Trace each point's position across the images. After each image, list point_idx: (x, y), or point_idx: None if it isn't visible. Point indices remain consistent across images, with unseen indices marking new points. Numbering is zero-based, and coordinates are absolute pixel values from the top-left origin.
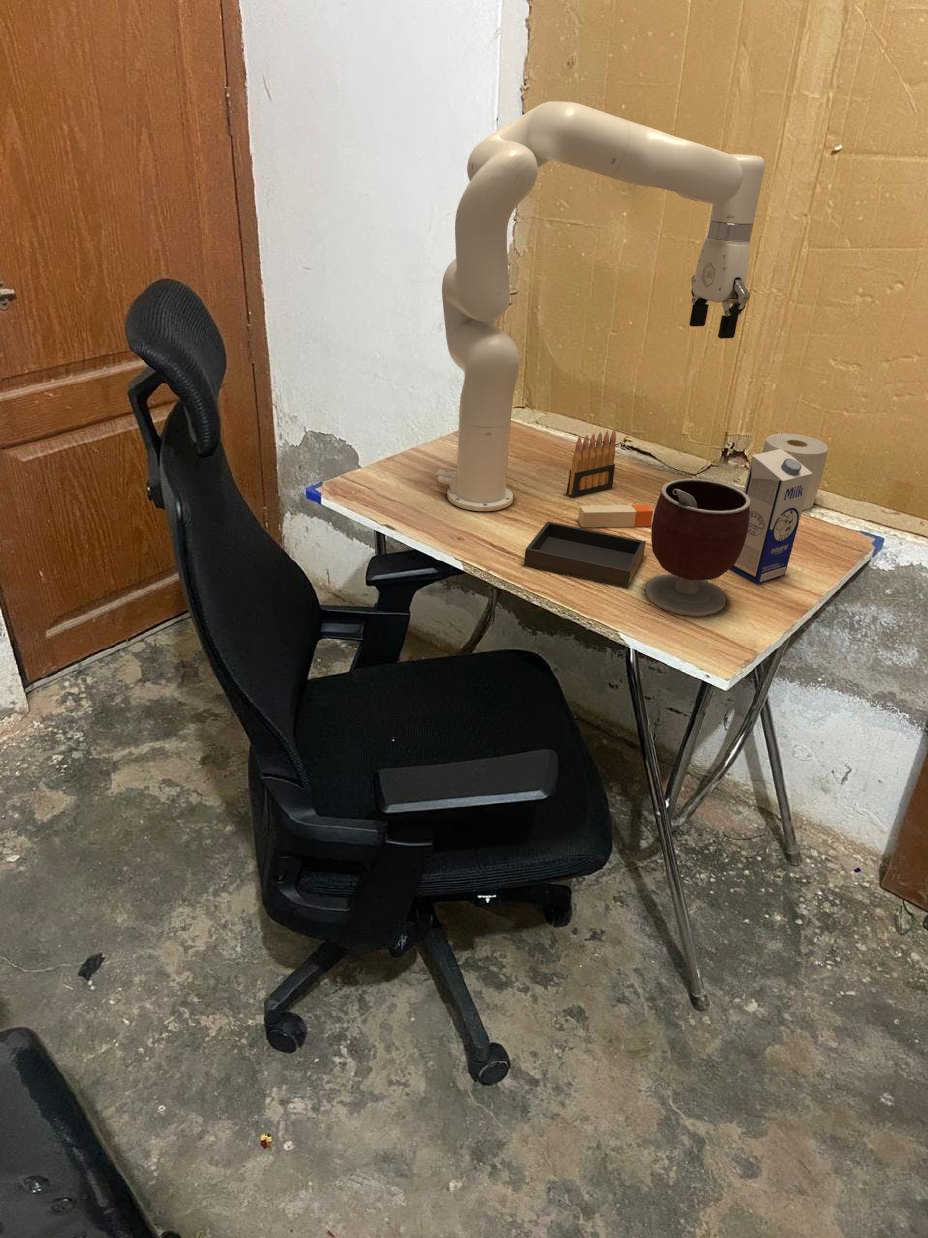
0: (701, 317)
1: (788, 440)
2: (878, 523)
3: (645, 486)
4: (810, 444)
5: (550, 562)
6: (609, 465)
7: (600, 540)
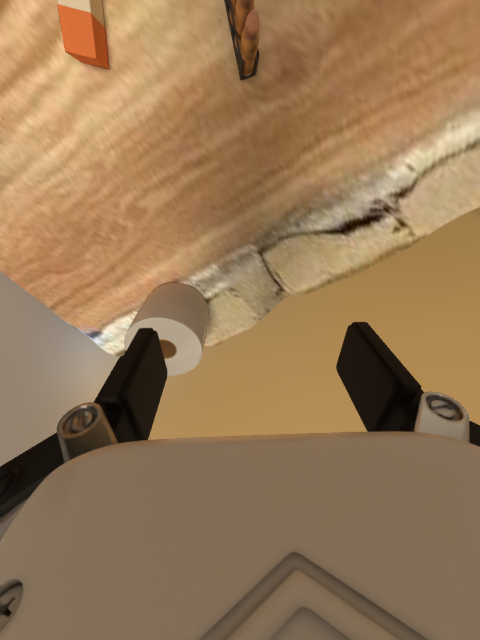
0: (352, 375)
1: (174, 345)
2: (120, 354)
3: (238, 155)
4: None
5: None
6: (238, 42)
7: None
